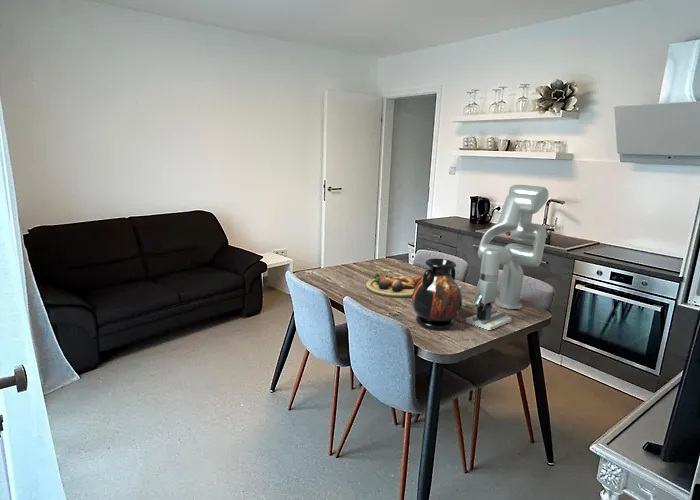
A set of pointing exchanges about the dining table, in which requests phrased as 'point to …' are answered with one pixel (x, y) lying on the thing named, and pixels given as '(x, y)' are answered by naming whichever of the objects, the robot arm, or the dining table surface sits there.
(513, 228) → the robot arm
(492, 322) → the fader console
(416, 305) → the amphora vase
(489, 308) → the fader knob
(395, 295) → the wooden plate with food
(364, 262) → the dining table surface
